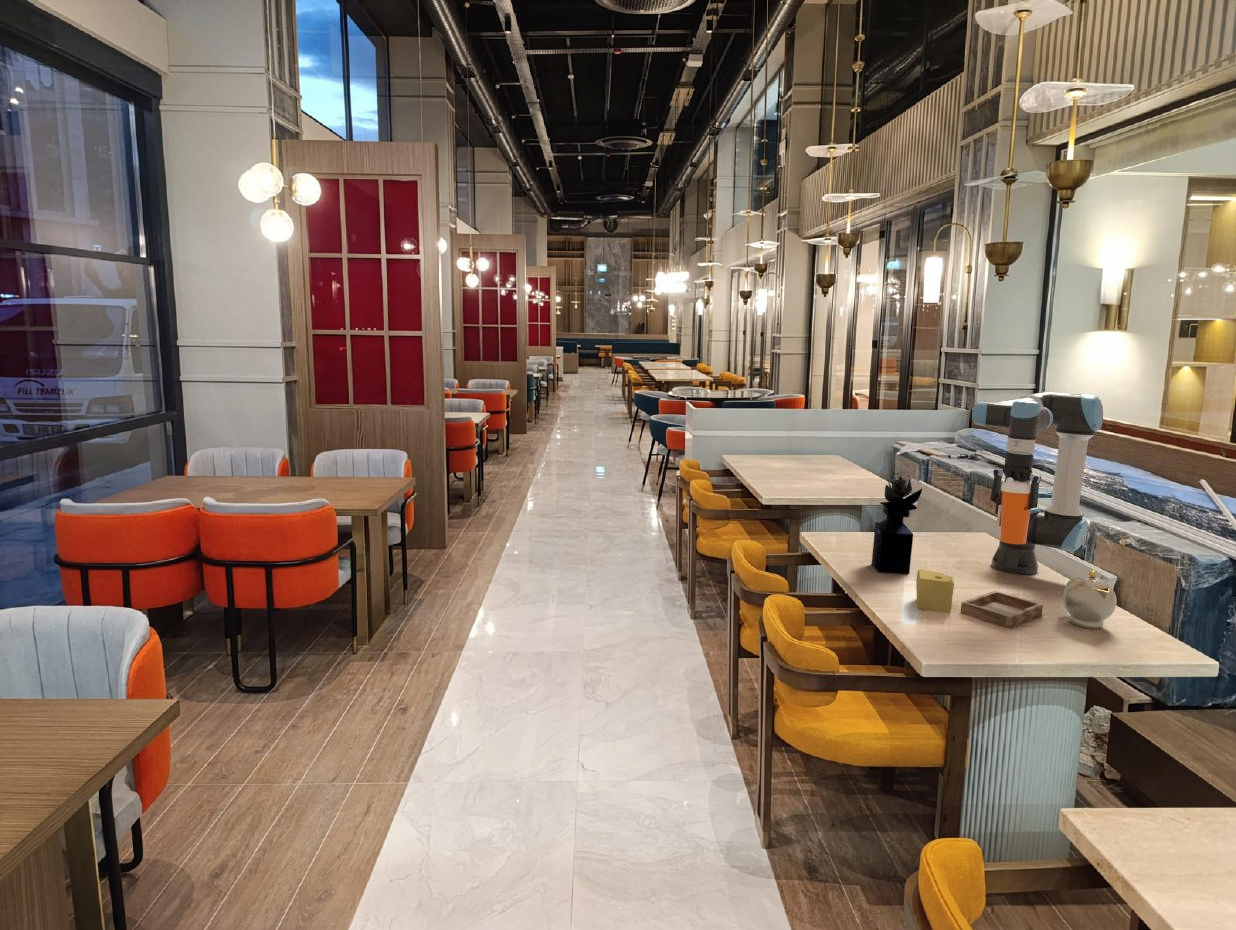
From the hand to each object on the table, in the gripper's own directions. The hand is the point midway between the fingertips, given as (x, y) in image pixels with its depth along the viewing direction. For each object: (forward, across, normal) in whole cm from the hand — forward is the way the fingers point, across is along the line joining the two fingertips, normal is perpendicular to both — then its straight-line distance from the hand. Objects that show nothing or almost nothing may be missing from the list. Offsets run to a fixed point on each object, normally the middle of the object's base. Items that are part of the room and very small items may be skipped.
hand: (1010, 527), depth 242 cm
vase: (+26, -43, +6) cm, 51 cm away
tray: (+26, +3, -5) cm, 27 cm away
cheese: (+26, -13, -16) cm, 33 cm away
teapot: (+26, +20, +10) cm, 34 cm away
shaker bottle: (+4, +1, 0) cm, 5 cm away
